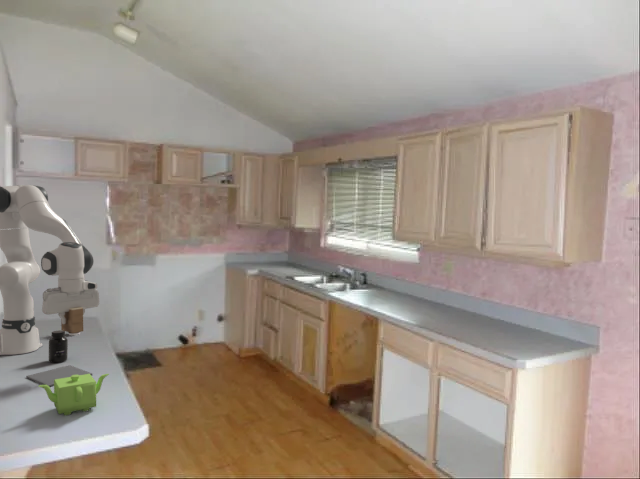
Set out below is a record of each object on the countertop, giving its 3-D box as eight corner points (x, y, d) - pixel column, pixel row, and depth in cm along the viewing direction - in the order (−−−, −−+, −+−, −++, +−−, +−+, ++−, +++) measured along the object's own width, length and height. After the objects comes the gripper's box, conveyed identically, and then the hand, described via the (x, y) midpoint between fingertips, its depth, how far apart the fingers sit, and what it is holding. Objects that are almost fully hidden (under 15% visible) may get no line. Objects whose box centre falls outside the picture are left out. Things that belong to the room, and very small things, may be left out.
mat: (26, 377, 177) (26, 375, 177) (70, 366, 190) (69, 365, 190) (48, 387, 168) (48, 385, 168) (92, 375, 181) (92, 373, 181)
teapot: (37, 416, 144) (37, 381, 144) (64, 399, 158) (64, 367, 157) (87, 419, 143) (86, 384, 143) (109, 402, 157) (109, 369, 156)
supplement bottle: (59, 363, 193) (59, 334, 193) (44, 362, 195) (44, 333, 194) (71, 358, 200) (71, 330, 199) (57, 357, 201) (56, 329, 201)
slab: (61, 330, 183) (60, 306, 182) (71, 328, 186) (71, 304, 186) (72, 333, 178) (72, 309, 178) (83, 331, 182) (82, 307, 181)
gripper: (47, 290, 171) (47, 328, 172) (101, 283, 188) (101, 318, 189) (38, 288, 174) (39, 326, 175) (92, 282, 191) (92, 316, 192)
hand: (72, 322), depth 182 cm, fingers closed on slab, 4 cm apart
